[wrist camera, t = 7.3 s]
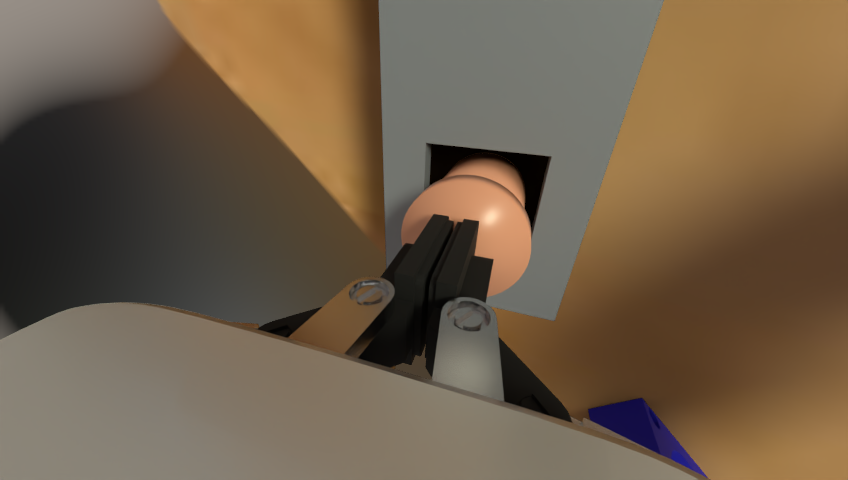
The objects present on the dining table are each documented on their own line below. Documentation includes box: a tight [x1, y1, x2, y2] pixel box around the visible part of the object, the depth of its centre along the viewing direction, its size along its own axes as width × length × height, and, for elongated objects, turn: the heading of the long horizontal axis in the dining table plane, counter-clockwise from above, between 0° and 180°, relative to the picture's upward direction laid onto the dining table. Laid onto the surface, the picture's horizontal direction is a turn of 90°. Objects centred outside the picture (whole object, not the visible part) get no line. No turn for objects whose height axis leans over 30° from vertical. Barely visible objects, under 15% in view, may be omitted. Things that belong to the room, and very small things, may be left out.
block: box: [379, 0, 664, 321], centre depth 14 cm, size 10×26×6 cm, turn 177°
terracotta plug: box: [401, 153, 531, 297], centre depth 14 cm, size 5×5×6 cm
